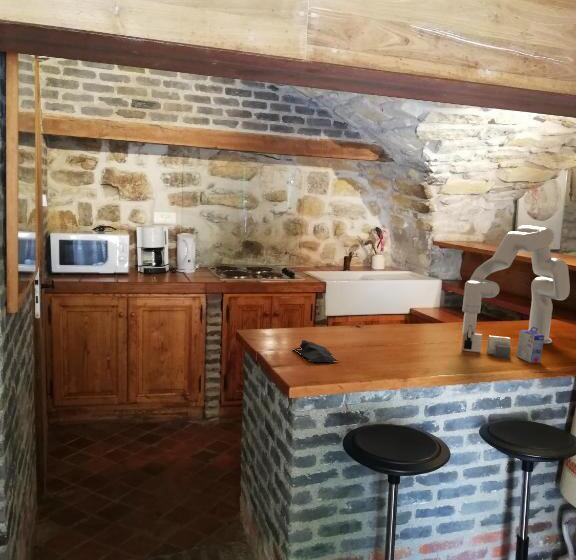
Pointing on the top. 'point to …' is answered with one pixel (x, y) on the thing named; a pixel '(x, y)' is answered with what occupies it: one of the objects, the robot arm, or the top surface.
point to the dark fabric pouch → (315, 352)
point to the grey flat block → (473, 342)
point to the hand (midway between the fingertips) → (467, 347)
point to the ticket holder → (499, 346)
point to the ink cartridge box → (530, 345)
